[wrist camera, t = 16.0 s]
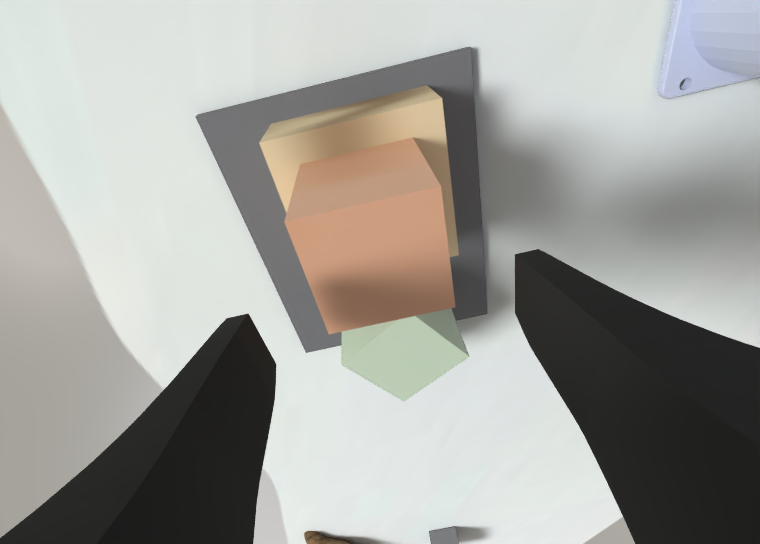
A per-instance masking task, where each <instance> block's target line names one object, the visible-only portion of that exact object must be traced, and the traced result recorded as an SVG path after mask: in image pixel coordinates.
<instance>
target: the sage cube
mask: <svg viewBox="0 0 760 544" xmlns="http://www.w3.org/2000/svg"><path fill="white" fill-rule="evenodd" d="M468 357H469V354H468V352H467V349H466V346H465V344H464V341H463V338H462V336H461V333H460V330H459V328H458V325H457V322H456V320H455V317H454V314H453V312H452V309H451V308H450V309H445V310H441V311H436V312H431V313H427V314H422V315H417V316H413V317H408V318H403V319H399V320H394V321H389V322H385V323H380V324H375V325H371V326H366V327H361V328H356V329H352V330H347V331H342V365H343V366H344V367H346V368H348V369H349V370H351V371H353V372H354V373H356V374H358V375H360V376H361V377H363V378H365V379H366V380H368V381H370V382H372V383H373V384H375V385H377V386H378V387H380V388H382V389H383V390H385V391H387V392H389V393H390V394H392V395H394V396H395V397H397V398H399V399H401V400H402V401H405V400H407V399H408V398H410V397H411V396H413V395H414V394H416V393H417V392H419V391H420V390H422V389H423V388H424V387H426V386H427V385H429V384H430V383H432V382H433V381H435V380H436V379H438V378H439V377H440V376H442V375H443V374H445V373H446V372H448V371H449V370H451V369H452V368H454V367H455V366H456V365H458V364H459V363H461V362H462V361H464V360H465V359H467V358H468Z"/></svg>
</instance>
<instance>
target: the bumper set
mask: <svg viewBox="0 0 760 544" xmlns="http://www.w3.org/2000/svg"><path fill="white" fill-rule="evenodd" d="M429 534H430V540H431V544H459V542H458V537H457V533H456V528H455V527H450V528H445V529H440V530H435V531H429Z"/></svg>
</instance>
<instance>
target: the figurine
mask: <svg viewBox="0 0 760 544" xmlns="http://www.w3.org/2000/svg"><path fill="white" fill-rule="evenodd" d="M304 537H305V540H306V542H307V544H350V543H349V542H347V541H344V540H341V539H335V538H327V537H324V536H322V535H320V534H319V533H317V532H314V531H307V532H305V533H304Z"/></svg>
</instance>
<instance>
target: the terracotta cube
mask: <svg viewBox="0 0 760 544" xmlns="http://www.w3.org/2000/svg"><path fill="white" fill-rule="evenodd" d="M284 223H285V225H286V228H287V230H288V233H289V235H290V238H291V240H292V243H293V245H294V248H295V250H296V253H297V255H298V258H299V260H300V263H301V265H302V268H303V270H304V273H305V276H306V278H307V281H308V283H309V286H310V288H311V291H312V293H313V296H314V298H315V301H316V303H317V306H318V308H319V311H320V313H321V316H322V318H323V321H324V323H325V326H326V329H327V331H328V334H333V333H338V332H342V331H347V330H352V329H356V328H361V327H366V326H371V325H375V324H380V323H385V322H389V321H394V320H399V319H403V318H408V317H413V316H417V315H422V314H427V313H431V312H436V311H441V310H445V309H450V308H455V298H454V290H453V282H452V273H451V265H450V257H449V248H448V240H447V232H446V223H445V215H444V207H443V199H442V190H441V185H440V183H439V182H438V180H437V178H436V177H435V175H434V173H433V171H432V170H431V168H430V166H429V165H428V163H427V161H426V159H425V158H424V156H423V154H422V152H421V151H420V149H419V147H418V146H417V144H416V142H415V140H414V139H413V137H412V138H408V139H404V140H400V141H395V142H391V143H387V144H383V145H378V146H374V147H370V148H366V149H362V150H357V151H353V152H349V153H345V154H340V155H336V156H332V157H328V158H323V159H319V160H315V161H311V162H306V163H302V164H300V166H299V170H298V173H297V177H296V181H295V184H294V188H293V192H292V195H291V199H290V203H289V206H288V210H287V214H286V218H285V221H284Z"/></svg>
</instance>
